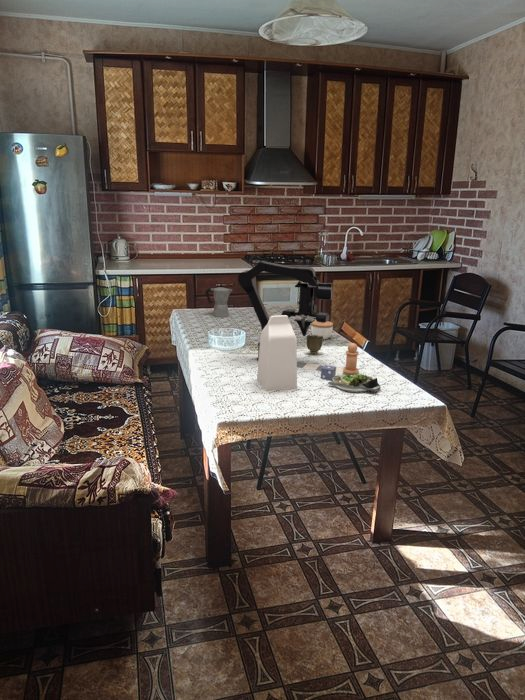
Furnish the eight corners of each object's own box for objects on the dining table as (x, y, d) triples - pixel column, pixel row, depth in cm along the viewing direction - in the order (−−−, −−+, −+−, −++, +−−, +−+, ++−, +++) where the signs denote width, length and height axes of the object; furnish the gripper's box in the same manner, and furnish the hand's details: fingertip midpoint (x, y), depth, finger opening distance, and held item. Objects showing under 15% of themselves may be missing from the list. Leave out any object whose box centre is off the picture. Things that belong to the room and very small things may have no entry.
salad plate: (332, 395, 192) (333, 383, 190) (322, 378, 209) (323, 367, 208) (384, 395, 194) (386, 383, 192) (371, 378, 211) (372, 367, 209)
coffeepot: (230, 313, 310) (231, 282, 305) (233, 317, 301) (234, 285, 296) (204, 313, 307) (204, 282, 302) (206, 317, 298) (206, 285, 293)
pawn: (348, 375, 211) (351, 345, 207) (339, 371, 216) (342, 341, 213) (361, 374, 214) (363, 344, 210) (352, 369, 219) (354, 340, 215)
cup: (321, 357, 235) (322, 339, 232) (304, 355, 236) (305, 338, 234) (322, 352, 242) (324, 335, 239) (306, 350, 243) (307, 333, 241)
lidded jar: (315, 341, 258) (316, 322, 255) (306, 336, 268) (308, 317, 265) (335, 340, 261) (337, 321, 259) (326, 334, 271) (327, 316, 268)
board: (289, 366, 221) (289, 366, 220) (294, 361, 227) (294, 361, 227) (355, 376, 211) (355, 376, 211) (359, 371, 217) (359, 371, 217)
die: (320, 379, 207) (321, 367, 206) (324, 375, 211) (325, 364, 210) (331, 381, 206) (332, 369, 204) (335, 377, 210) (336, 366, 208)
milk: (265, 390, 194) (268, 320, 186) (256, 379, 204) (259, 312, 197) (296, 388, 197) (300, 319, 189) (286, 377, 207) (289, 311, 200)
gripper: (333, 297, 221) (331, 334, 225) (291, 293, 227) (289, 328, 232) (326, 302, 211) (324, 340, 215) (281, 297, 217) (280, 334, 222)
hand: (304, 335), depth 221 cm, fingers closed
